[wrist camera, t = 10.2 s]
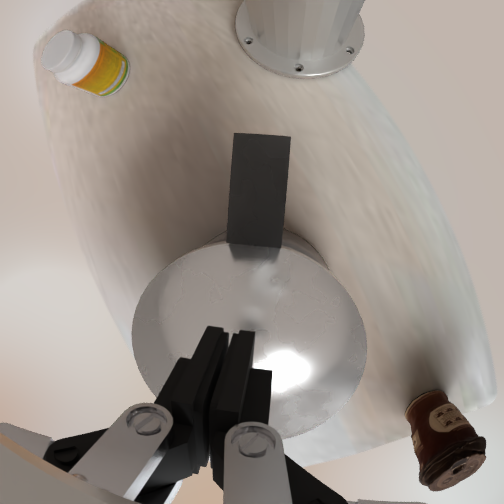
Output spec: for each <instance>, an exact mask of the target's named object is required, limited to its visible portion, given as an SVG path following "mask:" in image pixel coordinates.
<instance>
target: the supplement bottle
mask: <svg viewBox="0 0 504 504" xmlns="http://www.w3.org/2000/svg"><path fill="white" fill-rule="evenodd" d="M41 64H42V66H43V68H44V69H46V70H49V71H51V72H53V73H54V76H55V78H56V79H57V80H58V81H59V82H61V83H63V84H65V85H68V86H71V87H74V88H76V89H79V90H82V91H84V92H87V93H90V94H92V95H95V96H98V97H107V96H110V95H112V94H114V93H116V92H117V91H118V90H119V89H120V88H121V87H122V86H123V85H124V83H125V82H126V80H127V78H128V75H129V71H130V65H129V62H128V60H127V58H126V57H125V56H124V55H122V54H121V53H119V52H118V51H116V50H115V49H113V48H112V47H110V46H109V45H107V44H106V43H104V42H103V41H101V40H100V39H98V38H97V37H95V36H94V35H92V34H89V33H80V34H76V33H74V32H72V31H70V30H63V31H61V32H59V33H57V34H56V35H55V36H53V37H52V38H51V39H50V41H49V42H48V43H47V45H46V46H45V48H44V50H43V53H42V57H41Z"/></svg>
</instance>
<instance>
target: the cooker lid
mask: <svg viewBox="0 0 504 504" xmlns="http://www.w3.org/2000/svg"><path fill="white" fill-rule="evenodd" d="M290 141H291V137H288V136H276V135H262V134H245V133H234V140H233V152H232V165H231V179H230V193H229V207H228V223H227V239H226V241H221V242H217V243H213V244H209V245H205V246H202V247H200V248H197V249H195V250H192V251H190V252H188V253H187V254H185V255H183V256H181V257H180V258H178V259H176V260H175V261H174V262H172V263H171V264H170V265H169V266H167V267H166V268H165V269H164V270H162V271H161V272H160V273H159V274H158V275H157V276H156V277H155V278H154V279H153V280H152V281H151V282H150V284H149V285H148V287H147V288H146V290H145V291H144V293H143V294H142V296H141V298H140V300H139V303H138V305H137V307H136V311H135V314H134V318H133V325H132V346H133V351H134V356H135V360H136V363H137V366H138V369H139V371H140V373H141V375H142V377H143V379H144V381H145V382H146V384H147V385H148V387H149V388H150V390H151V391H152V393H153V394H154V395H155V396H156V398H157V397H158V395H159V393H160V391H161V390H162V388H163V386H164V384H165V382H166V380H167V379H168V377H169V375H170V373H171V371H172V370H173V368H174V366H175V364H176V362H177V361H178V359H179V358H180V357H184V358H189V359H191V358H192V356H193V354H194V352H195V350H196V348H197V346H198V344H199V342H200V340H201V337H202V335H203V333H204V331H205V329H206V327H207V326H215V327H222V328H224V332H229V344H230V341H231V338H232V335H233V333H237V334H239V331H240V330H246V331H255V344H254V355H253V365H252V368H259V369H268V370H273V378H272V390H271V402H270V413H269V424H268V425H269V426H271V427H272V428H274V429H275V430H276V431H277V432H278V433H279V434H280V436H281V439H286V438H291V437H294V436H297V435H300V434H303V433H305V432H307V431H310V430H312V429H314V428H316V427H318V426H319V425H321V424H323V423H324V422H326V421H327V420H329V419H330V418H331V417H332V416H334V415H335V414H336V413H337V412H338V411H339V410H340V409H341V408H342V407H343V406H344V405H345V404H346V403H347V402H348V400H349V399H350V398H351V396H352V395H353V393H354V392H355V390H356V388H357V386H358V385H359V382H360V380H361V377H362V375H363V372H364V368H365V363H366V355H367V341H366V332H365V329H364V325H363V321H362V318H361V316H360V314H359V312H358V309H357V307H356V305H355V303H354V302H353V300H352V298H351V296H350V295H349V293H348V292H347V290H346V289H345V287H344V286H343V285H342V284H341V283H340V281H339V280H338V279H337V278H336V277H335V276H334V275H333V274H332V273H331V272H330V271H328V270H327V269H326V268H325V267H324V266H322V265H321V264H320V263H318V262H317V261H315V260H313V259H312V258H310V257H309V256H307V255H305V254H303V253H301V252H298V251H296V250H294V249H292V248H289V247H286V246H282V235H283V225H284V214H285V203H286V191H287V180H288V167H289V155H290Z"/></svg>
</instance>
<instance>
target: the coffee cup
mask: <svg viewBox="0 0 504 504" xmlns="http://www.w3.org/2000/svg"><path fill="white" fill-rule="evenodd" d="M405 417H406V419H407V421H408V422H409V423H410V425H411V430H412V435H411V438H412V440H413V445H414V451H415V454H416V456H417V458H418V461H419V464H420V472H419V481H420V483H421V484H422V485H425V486H428V487H429V489H430V490H431V491H441V490H444V489H447V488H449V487H452V486H454V485H456V484H457V483H459V482H460V481H462V480H464V479H466V478H467V477H469V476H471V475H472V474H473V473H475V472H476V471H477V470H478V469H479V468H480V467H481V465H482V464H483V463H484V461H485V459H486V456H485V449H486V440H485V438H484V437H479V436H478V435H477V434H476V432H475V430H474V428H473V427H472V426H471V425H470V423H469V422H468V421H467V419H466V418H465V417H464V416H463V415H462V414H461V412H460V411H459V410H458V409H457V407H456V406H455V405H454V404H452V403H451V402H449V401H448V397H447V395H446V394H445V393H444V392H442V391H431V392H428V393H426V394H423V395H421V396H420V397H418V398H417V399H415V400H414V401H412V403H411V404H410V406H409V407H408V408H407V411H406V412H405Z"/></svg>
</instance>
